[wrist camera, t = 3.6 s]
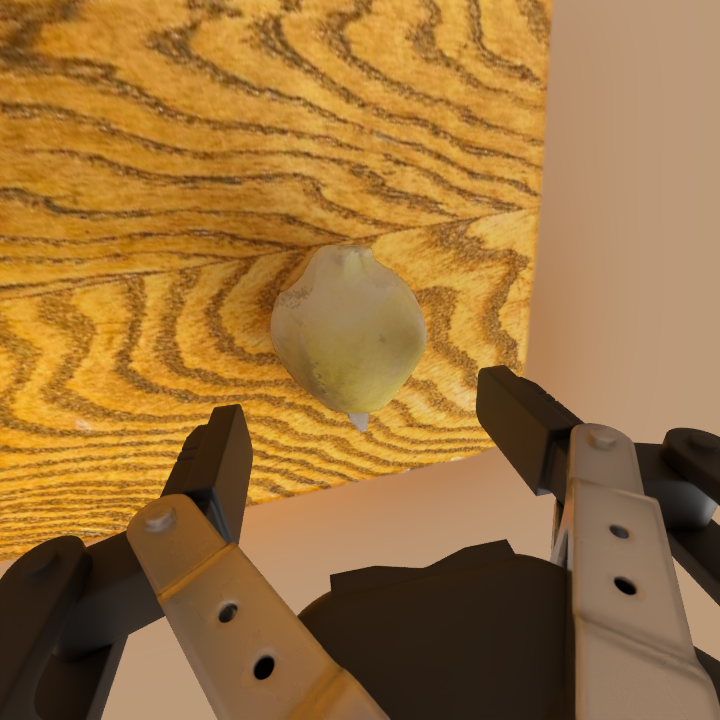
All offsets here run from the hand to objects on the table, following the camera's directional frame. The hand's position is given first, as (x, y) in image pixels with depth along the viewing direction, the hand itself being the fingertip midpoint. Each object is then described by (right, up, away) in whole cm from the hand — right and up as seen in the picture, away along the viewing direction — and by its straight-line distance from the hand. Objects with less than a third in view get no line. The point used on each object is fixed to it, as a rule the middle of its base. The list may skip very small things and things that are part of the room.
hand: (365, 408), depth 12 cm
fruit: (-1, +3, +6) cm, 6 cm away
